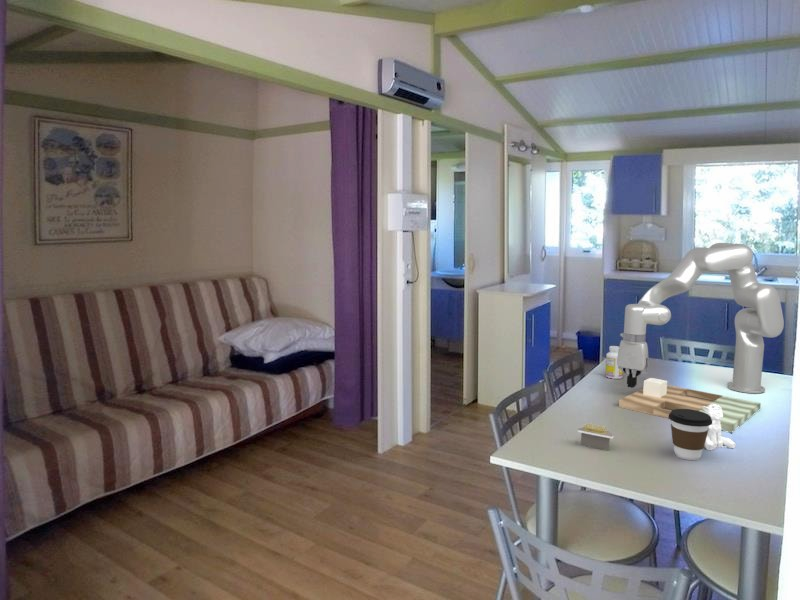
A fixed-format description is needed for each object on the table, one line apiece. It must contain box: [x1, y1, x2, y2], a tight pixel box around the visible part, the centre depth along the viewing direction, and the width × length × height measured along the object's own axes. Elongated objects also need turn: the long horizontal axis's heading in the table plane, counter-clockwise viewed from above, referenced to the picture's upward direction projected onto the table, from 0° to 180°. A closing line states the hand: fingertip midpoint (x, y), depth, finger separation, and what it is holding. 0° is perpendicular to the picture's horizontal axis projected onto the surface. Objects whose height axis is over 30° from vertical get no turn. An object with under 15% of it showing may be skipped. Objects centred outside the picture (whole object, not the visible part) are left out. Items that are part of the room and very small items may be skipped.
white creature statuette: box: [702, 404, 737, 451], centre depth 176 cm, size 10×9×12 cm
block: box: [642, 377, 668, 398], centre depth 218 cm, size 6×6×5 cm
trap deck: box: [618, 384, 762, 433], centre depth 210 cm, size 32×36×2 cm
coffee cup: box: [668, 409, 712, 461], centre depth 167 cm, size 11×11×12 cm
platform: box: [577, 422, 615, 452], centre depth 174 cm, size 12×18×7 cm, turn 57°
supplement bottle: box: [605, 345, 624, 380], centre depth 250 cm, size 7×7×13 cm
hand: (631, 386), depth 224 cm, fingers closed
